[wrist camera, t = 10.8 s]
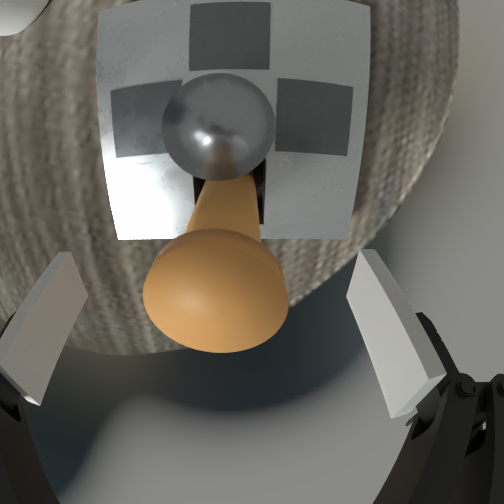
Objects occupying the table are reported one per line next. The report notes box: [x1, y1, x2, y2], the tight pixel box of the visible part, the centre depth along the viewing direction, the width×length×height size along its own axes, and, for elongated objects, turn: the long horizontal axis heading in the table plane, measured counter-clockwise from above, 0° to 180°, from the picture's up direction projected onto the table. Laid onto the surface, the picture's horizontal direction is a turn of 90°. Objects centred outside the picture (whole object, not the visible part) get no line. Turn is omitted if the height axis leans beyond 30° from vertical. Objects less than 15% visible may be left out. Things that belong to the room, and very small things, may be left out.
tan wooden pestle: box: [143, 170, 288, 353], centre depth 17 cm, size 6×6×15 cm
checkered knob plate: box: [96, 0, 371, 240], centre depth 15 cm, size 20×20×11 cm
